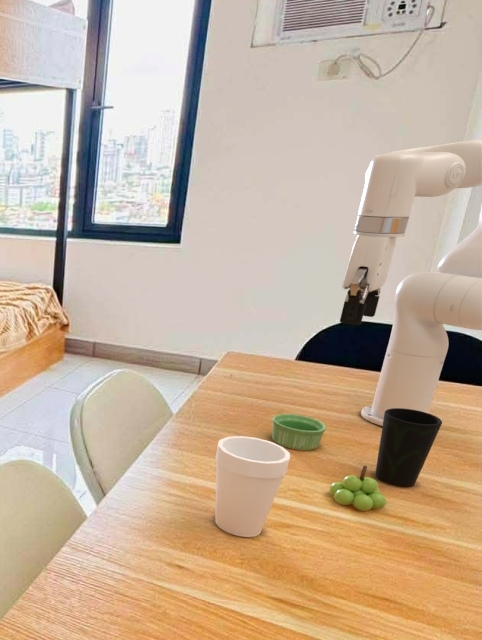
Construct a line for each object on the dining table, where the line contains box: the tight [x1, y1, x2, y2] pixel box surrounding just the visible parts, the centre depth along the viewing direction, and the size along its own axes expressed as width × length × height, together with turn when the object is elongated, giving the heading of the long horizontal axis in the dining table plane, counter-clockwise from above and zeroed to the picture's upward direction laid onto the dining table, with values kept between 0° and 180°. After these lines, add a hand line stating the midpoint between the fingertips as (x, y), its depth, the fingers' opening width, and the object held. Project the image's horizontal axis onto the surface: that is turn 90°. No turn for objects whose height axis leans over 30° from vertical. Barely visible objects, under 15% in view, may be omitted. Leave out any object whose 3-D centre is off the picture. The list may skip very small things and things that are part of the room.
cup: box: [374, 408, 443, 488], centre depth 108 cm, size 8×8×12 cm
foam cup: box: [214, 435, 291, 538], centre depth 94 cm, size 10×9×13 cm
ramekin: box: [271, 413, 327, 451], centre depth 124 cm, size 9×9×4 cm
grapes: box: [329, 464, 387, 512], centre depth 102 cm, size 8×7×7 cm
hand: (357, 319), depth 118 cm, fingers open, 9 cm apart
